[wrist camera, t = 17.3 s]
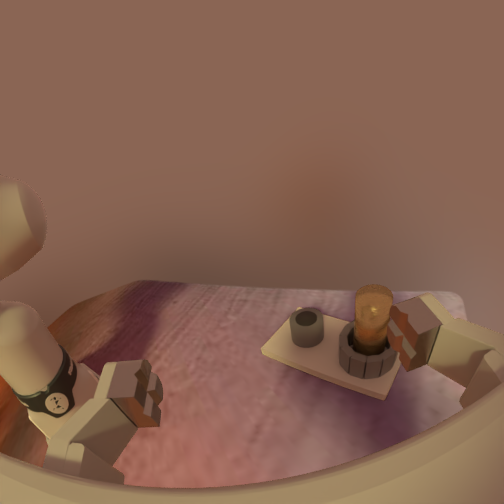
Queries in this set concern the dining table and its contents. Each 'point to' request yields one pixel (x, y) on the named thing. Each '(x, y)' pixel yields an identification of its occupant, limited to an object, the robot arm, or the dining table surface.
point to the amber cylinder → (371, 319)
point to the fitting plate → (332, 353)
